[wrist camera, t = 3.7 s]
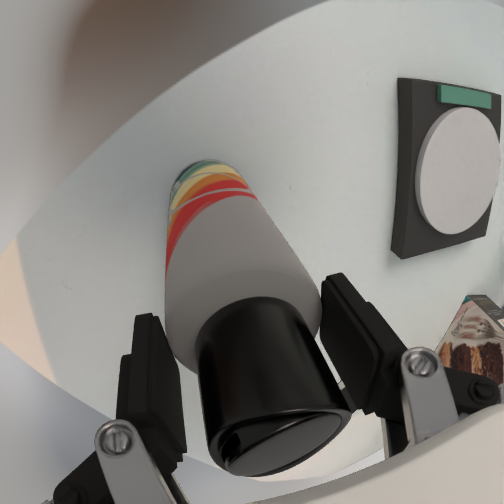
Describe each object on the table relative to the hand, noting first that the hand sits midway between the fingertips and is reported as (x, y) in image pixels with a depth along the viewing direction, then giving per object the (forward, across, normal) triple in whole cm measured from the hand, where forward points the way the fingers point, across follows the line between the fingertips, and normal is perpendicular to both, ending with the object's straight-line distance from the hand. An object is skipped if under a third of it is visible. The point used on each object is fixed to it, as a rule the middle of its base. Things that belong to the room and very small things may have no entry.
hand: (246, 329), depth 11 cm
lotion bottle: (+15, 0, 0) cm, 15 cm away
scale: (+15, -24, 0) cm, 28 cm away
